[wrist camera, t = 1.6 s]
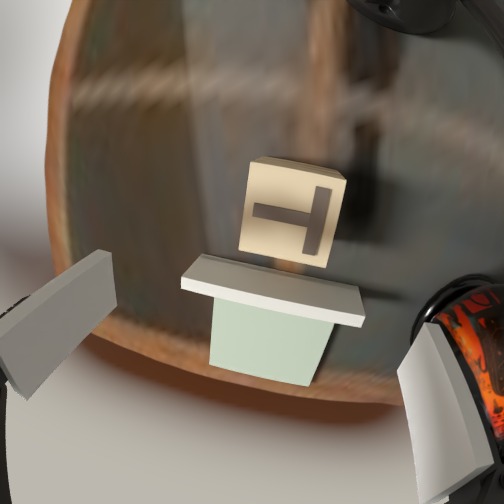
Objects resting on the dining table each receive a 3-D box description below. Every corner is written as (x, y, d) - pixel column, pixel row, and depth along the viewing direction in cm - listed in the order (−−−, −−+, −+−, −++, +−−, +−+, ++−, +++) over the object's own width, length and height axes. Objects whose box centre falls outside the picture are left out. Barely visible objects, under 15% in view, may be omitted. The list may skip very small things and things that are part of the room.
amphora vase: (527, 278, 27) (621, 397, 2) (461, 379, 36) (498, 509, 11) (437, 232, 29) (581, 413, 3) (366, 362, 38) (377, 543, 12)
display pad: (217, 287, 37) (214, 291, 37) (336, 313, 36) (336, 317, 35) (211, 360, 43) (209, 364, 42) (308, 382, 41) (308, 386, 40)
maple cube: (265, 156, 30) (250, 162, 23) (337, 170, 29) (346, 180, 22) (254, 224, 33) (238, 250, 26) (322, 238, 32) (325, 269, 25)
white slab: (202, 253, 36) (181, 276, 30) (357, 286, 34) (365, 316, 28) (200, 274, 37) (181, 299, 31) (350, 306, 35) (356, 337, 29)
